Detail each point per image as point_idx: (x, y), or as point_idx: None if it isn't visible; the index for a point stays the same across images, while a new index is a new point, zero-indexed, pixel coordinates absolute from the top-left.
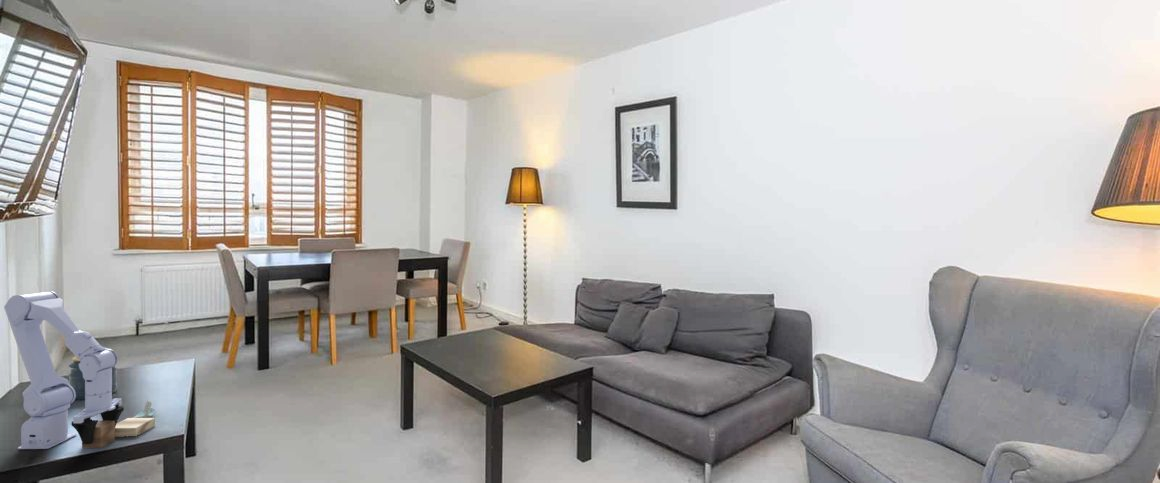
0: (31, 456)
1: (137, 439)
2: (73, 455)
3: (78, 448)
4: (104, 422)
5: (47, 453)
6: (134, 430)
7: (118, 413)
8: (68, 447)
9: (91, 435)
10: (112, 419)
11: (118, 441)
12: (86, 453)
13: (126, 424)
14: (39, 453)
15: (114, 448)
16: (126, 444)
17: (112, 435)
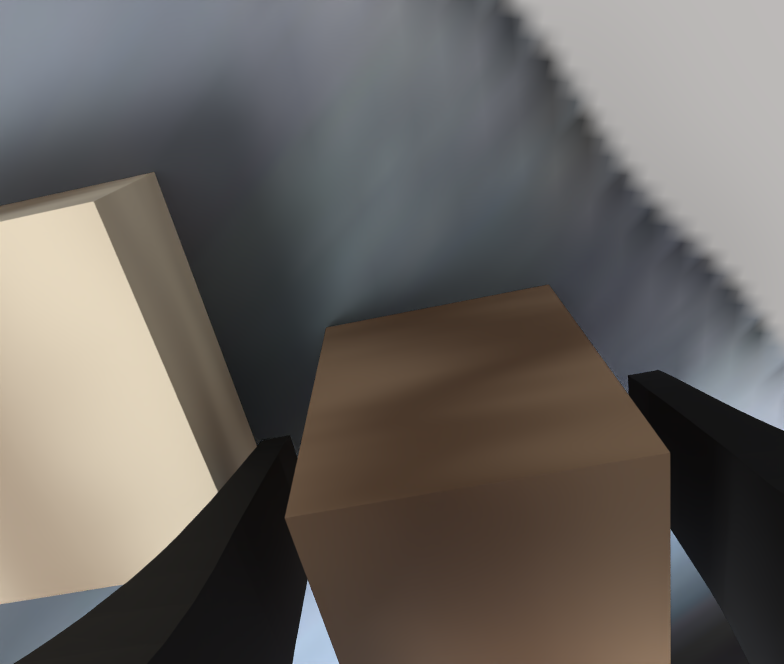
0: None
1: (226, 37)
2: (767, 375)
3: None
4: (412, 594)
5: (697, 610)
6: (122, 211)
7: (125, 650)
8: None
9: (756, 420)
10: (235, 601)
11: (349, 247)
12: (720, 291)
13: (57, 460)
14: (694, 656)
15: (565, 77)
16: (416, 31)
17: (359, 358)
